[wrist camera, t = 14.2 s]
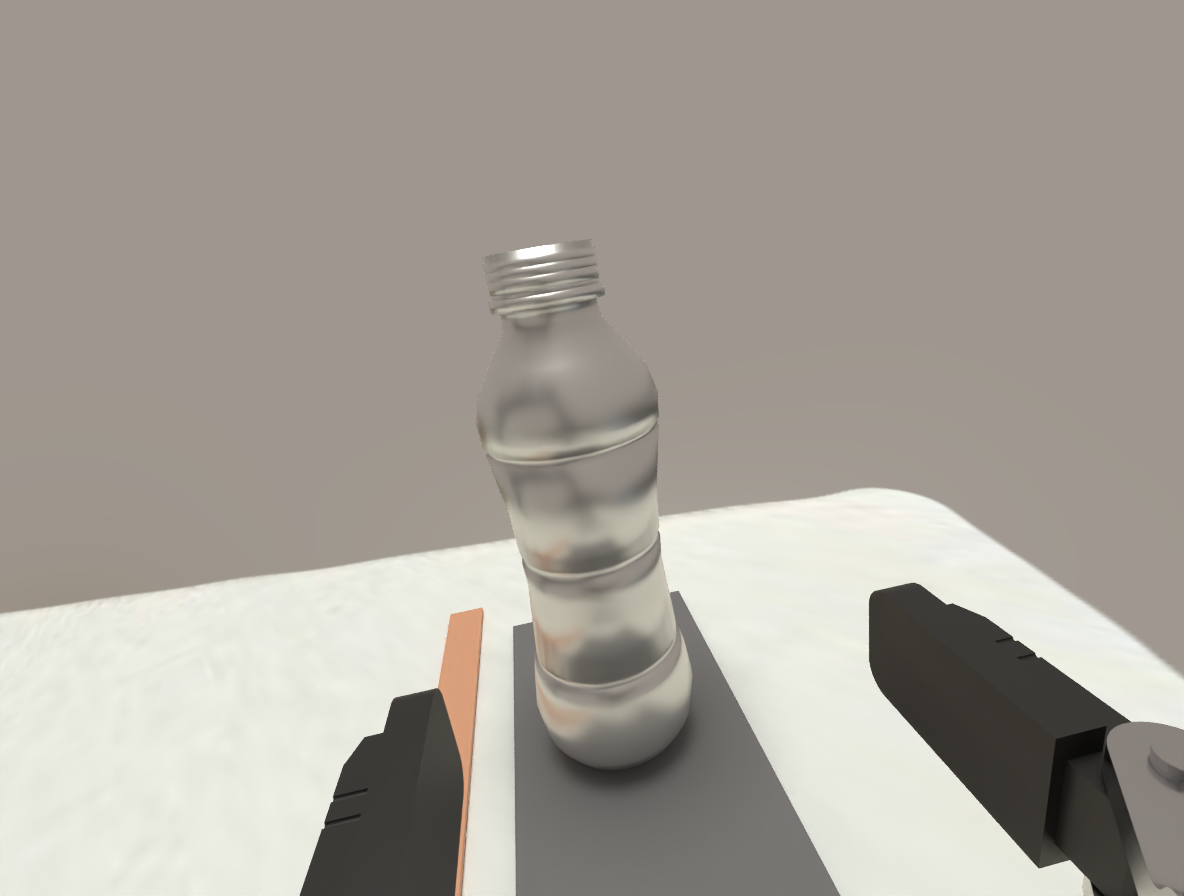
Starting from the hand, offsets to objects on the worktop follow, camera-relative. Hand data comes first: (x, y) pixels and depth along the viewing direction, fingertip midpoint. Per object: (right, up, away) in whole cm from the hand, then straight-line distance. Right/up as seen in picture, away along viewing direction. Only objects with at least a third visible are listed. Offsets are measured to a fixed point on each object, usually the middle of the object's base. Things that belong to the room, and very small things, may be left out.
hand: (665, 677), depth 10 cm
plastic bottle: (0, -8, +15) cm, 17 cm away
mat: (0, -8, +15) cm, 17 cm away
